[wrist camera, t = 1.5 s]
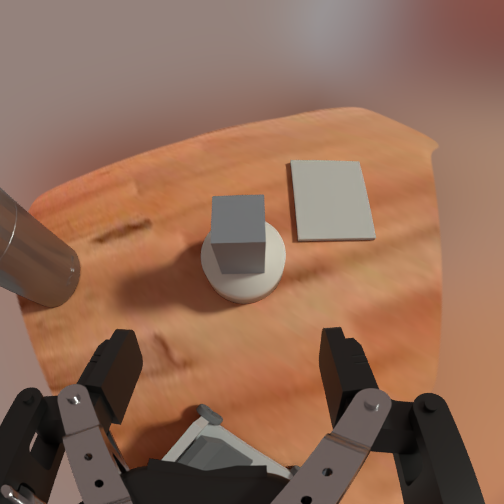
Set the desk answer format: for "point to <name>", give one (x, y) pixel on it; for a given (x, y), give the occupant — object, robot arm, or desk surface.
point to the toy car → (218, 447)
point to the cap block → (239, 233)
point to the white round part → (249, 284)
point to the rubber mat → (331, 201)
